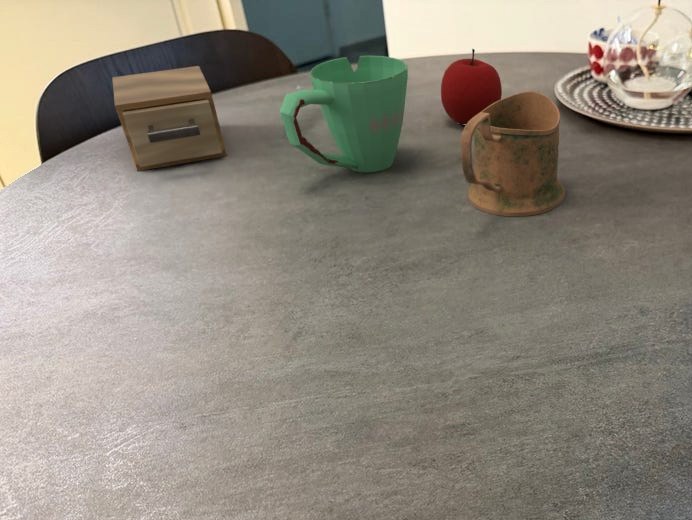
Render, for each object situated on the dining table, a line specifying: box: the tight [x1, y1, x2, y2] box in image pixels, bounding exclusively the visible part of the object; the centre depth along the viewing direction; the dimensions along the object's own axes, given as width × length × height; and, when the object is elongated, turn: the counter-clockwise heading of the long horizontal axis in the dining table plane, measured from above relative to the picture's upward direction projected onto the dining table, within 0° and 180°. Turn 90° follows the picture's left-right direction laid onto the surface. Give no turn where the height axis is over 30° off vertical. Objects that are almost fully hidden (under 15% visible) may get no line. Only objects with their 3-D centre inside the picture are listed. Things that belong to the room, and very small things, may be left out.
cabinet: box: [111, 65, 228, 172], centre depth 96 cm, size 14×12×9 cm
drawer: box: [123, 99, 222, 167], centre depth 93 cm, size 17×10×7 cm, turn 24°
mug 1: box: [279, 55, 409, 173], centre depth 87 cm, size 18×12×12 cm
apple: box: [440, 48, 503, 125], centre depth 101 cm, size 9×9×10 cm
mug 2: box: [460, 90, 566, 217], centre depth 78 cm, size 12×18×12 cm, turn 152°
